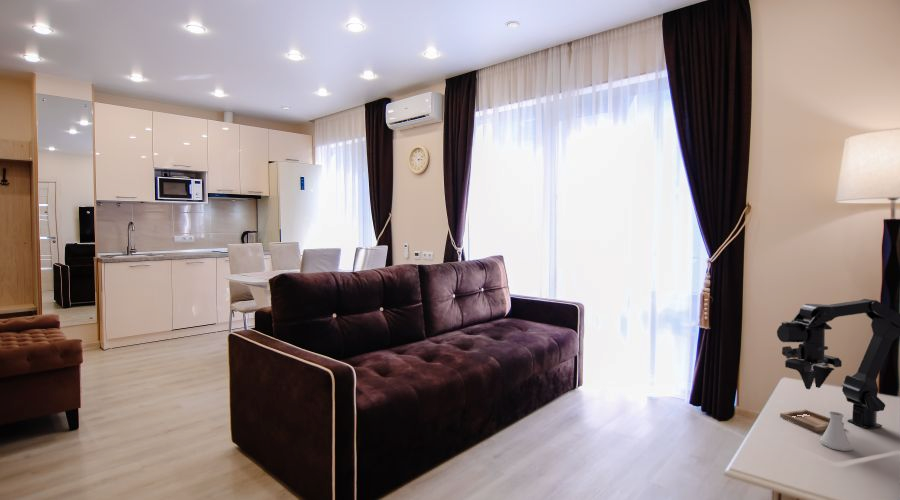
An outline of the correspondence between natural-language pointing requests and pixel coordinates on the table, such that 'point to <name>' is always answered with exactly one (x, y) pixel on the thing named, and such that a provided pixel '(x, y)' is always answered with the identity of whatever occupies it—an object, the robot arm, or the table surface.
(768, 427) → the table surface
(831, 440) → the flask
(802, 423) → the tray
